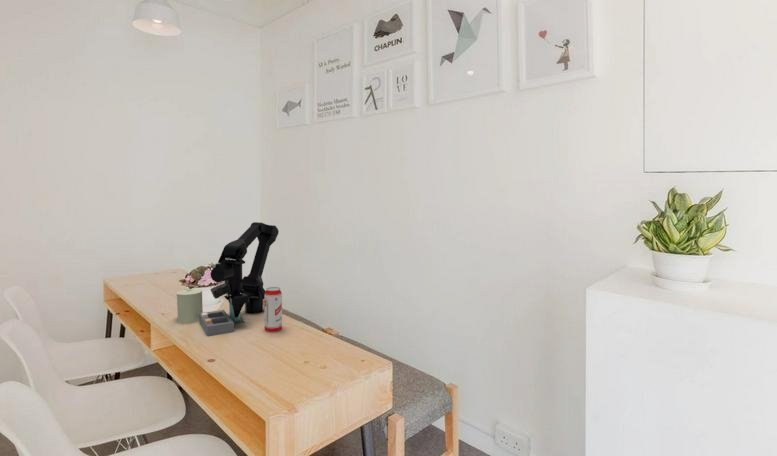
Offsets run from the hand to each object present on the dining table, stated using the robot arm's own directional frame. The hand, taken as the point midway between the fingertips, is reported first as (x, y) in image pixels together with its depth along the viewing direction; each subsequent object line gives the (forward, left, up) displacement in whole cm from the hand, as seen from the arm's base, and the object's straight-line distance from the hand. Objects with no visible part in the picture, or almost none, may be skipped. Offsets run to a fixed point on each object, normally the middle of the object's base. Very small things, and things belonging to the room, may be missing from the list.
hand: (235, 315), depth 158 cm
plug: (0, 0, -2) cm, 2 cm away
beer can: (-10, +16, -3) cm, 19 cm away
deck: (0, 0, -3) cm, 3 cm away
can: (+14, -11, -3) cm, 18 cm away
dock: (+8, +3, -3) cm, 9 cm away
